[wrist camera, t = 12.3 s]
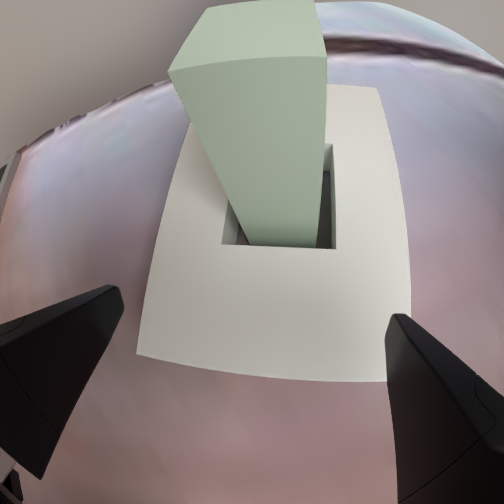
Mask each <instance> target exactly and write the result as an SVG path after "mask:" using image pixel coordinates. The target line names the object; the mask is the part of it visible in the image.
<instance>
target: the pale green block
mask: <svg viewBox="0 0 504 504" xmlns="http://www.w3.org/2000/svg"><path fill="white" fill-rule="evenodd" d="M167 72H168V74H169V76H170V78H171V80H172V83H173V85H174V87H175V89H176V91H177V93H178V95H179V97H180V99H181V101H182V103H183V105H184V108H185V110H186V112H187V114H188V116H189V118H190V120H191V122H192V124H193V126H194V128H195V131H196V133H197V135H198V137H199V139H200V141H201V143H202V145H203V147H204V149H205V151H206V154H207V156H208V158H209V160H210V162H211V164H212V166H213V168H214V170H215V172H216V174H217V177H218V179H219V181H220V183H221V185H222V187H223V189H224V191H225V193H226V195H227V197H228V200H229V202H230V204H231V206H232V208H233V210H234V212H235V214H236V216H237V218H238V220H239V223H240V225H241V227H242V229H243V231H244V233H245V235H246V237H247V239H248V241H249V244H250V246H270V247H292V248H314V249H316V241H317V232H318V222H319V212H320V201H321V190H322V177H323V164H324V148H325V128H326V101H327V54H326V50H325V45H324V41H323V36H322V32H321V28H320V24H319V20H318V16H317V12H316V8H315V4H314V1H313V0H260V1H250V2H241V3H234V4H227V5H221V6H215V7H210V8H207V9H206V11H205V12H204V14H203V15H202V16H201V18H200V20H199V21H198V22H197V24H196V25H195V27H194V28H193V30H192V32H191V33H190V34H189V36H188V38H187V39H186V41H185V42H184V44H183V46H182V47H181V49H180V51H179V52H178V54H177V56H176V57H175V59H174V61H173V62H172V64H171V66H170V68H169V70H168V71H167Z"/></svg>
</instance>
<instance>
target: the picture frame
mask: <svg viewBox="0 0 504 504" xmlns="http://www.w3.org/2000/svg"><path fill="white" fill-rule="evenodd" d="M21 157H22V155H20V154H19V153H18V152H17V151H16V152H15V153H14V154H12V155H11V156H10V157H8V158H7V159H6V160H4V161H3V162H2V163H0V222H1V218H2V214H3V210H4V207H5V203H6V200H7V197H8V193H9V190H10V187H11V184H12V181H13V178H14V176H15V173H16V170H17V168H18V165H19V162H20V160H21Z"/></svg>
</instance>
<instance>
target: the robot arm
mask: <svg viewBox="0 0 504 504" xmlns="http://www.w3.org/2000/svg"><path fill="white" fill-rule="evenodd" d="M123 312H124V303H123V300H122V296H121V292H120V289H119V287H117V286H115V285H105V286H102V287H100V288H97V289H94V290H92V291H89V292H86V293H83V294H81V295H78V296H75V297H73V298H70V299H67V300H65V301H62V302H59V303H57V304H54V305H51V306H49V307H46V308H44V309H41V310H38V311H36V312H33V313H31V314H28V315H25V316H23V317H20V318H17V319H15V320H12V321H9V322H7V323H4V324H1V325H0V504H23V503H22V501H23V495H22V490H21V485H20V480H19V474H18V472H17V471H15V470H14V469H13V467H14V466H15V464H16V462H18V463H19V464H20V465H21V466H22V467H24V468H25V469H26V470H27V471H29V472H30V473H31V474H33V475H34V476H35V477H37V478H38V479H39V480H41V479H42V477H43V475H44V473H45V470H46V468H47V465H48V463H49V461H50V458H51V456H52V454H53V452H54V449H55V447H56V445H57V443H58V440H59V438H60V435H61V434H62V431H63V429H64V427H65V425H66V423H67V421H68V419H69V417H70V415H71V413H72V411H73V409H74V407H75V405H76V403H77V401H78V399H79V397H80V395H81V393H82V391H83V389H84V388H85V386H86V384H87V382H88V380H89V378H90V376H91V375H92V373H93V371H94V369H95V367H96V365H97V364H98V362H99V360H100V358H101V357H102V355H103V353H104V351H105V350H106V348H107V346H108V344H109V342H110V340H111V338H112V335H113V333H114V331H115V329H116V327H117V325H118V322H119V320H120V318H121V316H122V314H123ZM384 342H385V356H386V373H387V386H388V393H389V400H390V407H391V414H392V422H393V431H394V441H395V453H396V468H397V492H398V504H504V397H503V396H502V395H501V394H499V393H498V392H497V391H496V390H495V389H493V388H492V387H491V386H490V385H489V384H488V383H487V382H485V381H484V380H483V379H482V378H481V377H480V376H479V375H476V373H475V372H474V371H473V370H472V369H471V368H470V367H468V366H467V365H466V364H465V363H464V362H463V361H462V360H460V359H459V358H458V357H457V356H456V355H455V354H453V353H452V352H451V351H450V350H449V349H448V348H446V347H445V346H444V345H443V344H442V343H440V342H439V341H438V340H437V339H436V338H434V337H433V336H432V335H431V334H430V333H428V332H427V331H426V330H425V329H424V328H422V327H421V326H420V325H419V324H417V323H416V322H415V321H414V320H412V319H411V318H410V317H409V316H408V315H406V314H404V313H394V314H392V316H391V318H390V321H389V324H388V327H387V330H386V333H385V339H384Z"/></svg>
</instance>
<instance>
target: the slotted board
mask: <svg viewBox="0 0 504 504" xmlns="http://www.w3.org/2000/svg"><path fill="white" fill-rule="evenodd" d="M323 171H330V186H331V249H314V248H292V247H270V246H247V245H236V241H237V234H238V227H239V220H238V218H237V216H236V214H235V212H234V210H233V208H232V206H231V204H230V202H229V200H228V197H227V195H226V193H225V191H224V189H223V187H222V185H221V183H220V181H219V179H218V177H217V174H216V172H215V170H214V168H213V166H212V164H211V162H210V160H209V158H208V156H207V154H206V151H205V149H204V147H203V145H202V143H201V141H200V139H199V137H198V135H197V133H196V131H195V128H194V126H193V124H192V122H191V121H190V124H189V127H188V130H187V133H186V136H185V139H184V142H183V145H182V148H181V151H180V154H179V158H178V161H177V164H176V167H175V171H174V174H173V178H172V181H171V185H170V188H169V192H168V196H167V199H166V203H165V207H164V211H163V215H162V219H161V223H160V227H159V231H158V235H157V239H156V244H155V248H154V253H153V258H152V262H151V267H150V272H149V277H148V282H147V288H146V293H145V299H144V305H143V311H142V317H141V323H140V330H139V337H138V345H137V352H136V354H138V355H142V356H146V357H150V358H155V359H159V360H163V361H168V362H173V363H178V364H183V365H188V366H193V367H198V368H204V369H210V370H216V371H222V372H229V373H236V374H244V375H252V376H261V377H270V378H281V379H293V380H309V381H332V382H383V381H387V373H386V356H385V342H384V339H385V333H386V330H387V327H388V324H389V321H390V318H391V316H392V314H394V313H404V314H406V315H408V316H409V317H410V318H411V284H410V263H409V249H408V238H407V229H406V220H405V212H404V205H403V198H402V192H401V186H400V180H399V174H398V169H397V164H396V159H395V155H394V150H393V146H392V141H391V137H390V133H389V129H388V125H387V121H386V118H385V114H384V111H383V107H382V104H381V100H380V97H379V94H378V91H377V88H370V87H361V86H349V85H335V84H327V101H326V128H325V148H324V164H323Z"/></svg>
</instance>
